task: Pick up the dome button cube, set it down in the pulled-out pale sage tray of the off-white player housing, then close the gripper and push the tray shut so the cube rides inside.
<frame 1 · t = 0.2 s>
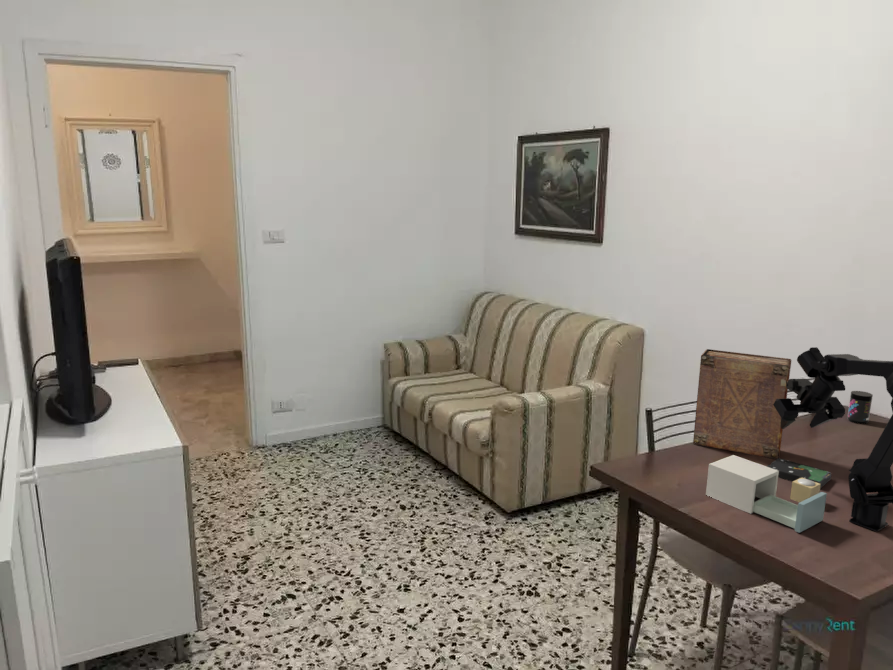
hand: (796, 427, 195), 14 cm above the table, tool tilted 30°, fingers open, 9 cm apart
tray: (786, 502, 171), point 4 cm above the table, slide at 11.0 cm
housing: (739, 498, 182), on the table
disk drive: (797, 478, 197), on the table
dome button cube: (804, 500, 182), on the table
book: (736, 447, 219), on the table
supplement container: (857, 421, 246), on the table
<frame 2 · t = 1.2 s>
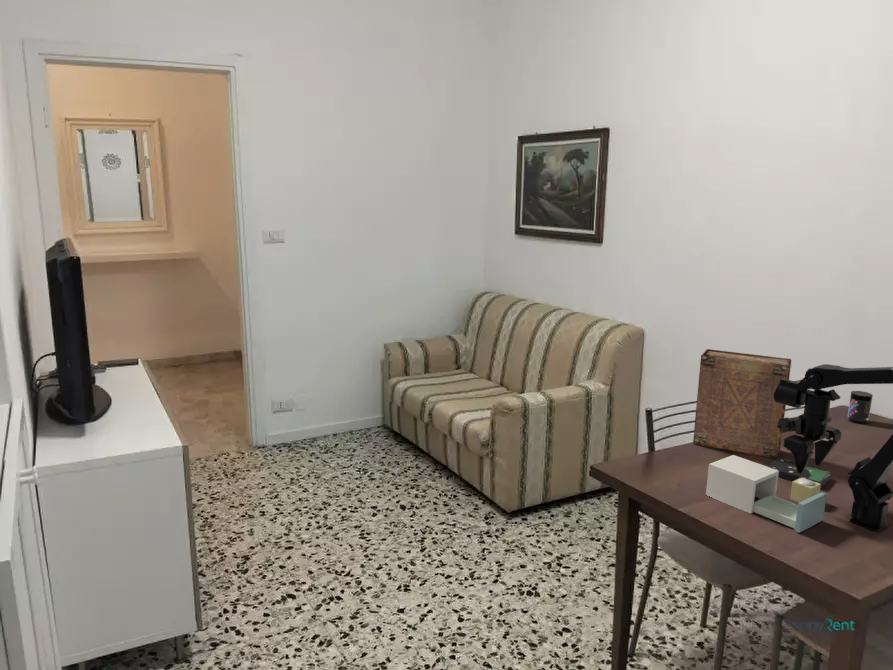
hand: (808, 469, 180), 9 cm above the table, tool pointing down, fingers open, 9 cm apart
nothing on the table moved.
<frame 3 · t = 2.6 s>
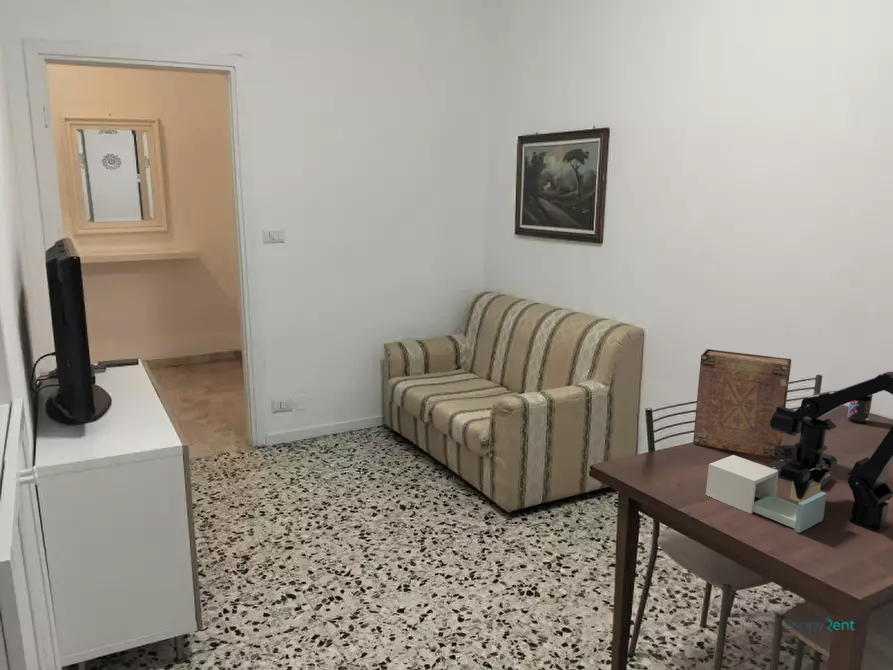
hand: (804, 496, 182), 1 cm above the table, tool pointing down, fingers closed on dome button cube, 5 cm apart
dome button cube: (804, 499, 182), on the table, touching gripper
everything else where it was.
when the fingers open (4 cm above the table, at t = 6.6 s): dome button cube drops 1 cm, resting on tray.
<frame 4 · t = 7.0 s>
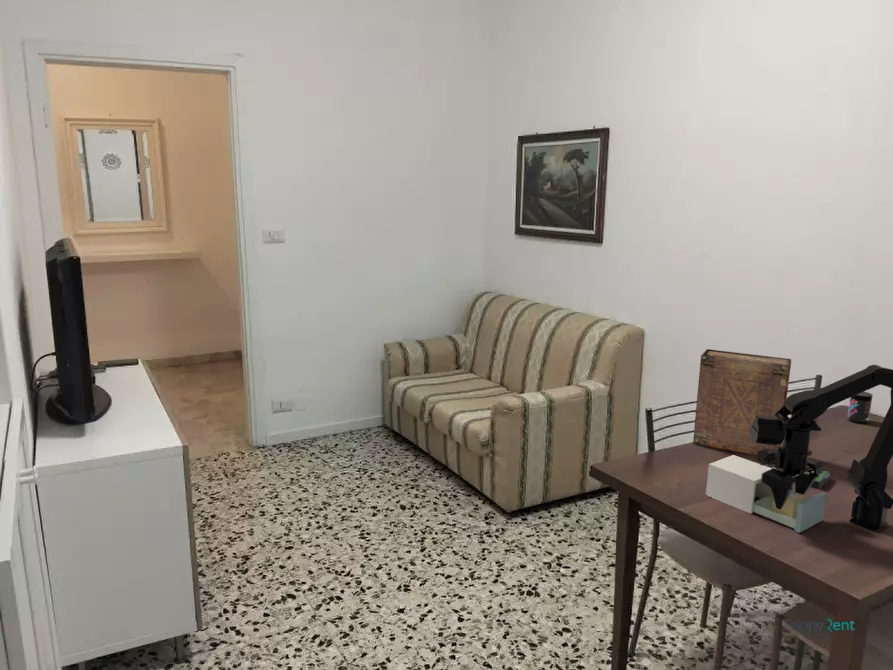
hand: (788, 504, 171), 4 cm above the table, tool pointing down, fingers open, 9 cm apart
tray: (786, 502, 171), point 4 cm above the table, slide at 11.0 cm, touching dome button cube
dome button cube: (786, 512, 171), point 1 cm above the table, touching tray
everything else where it was.
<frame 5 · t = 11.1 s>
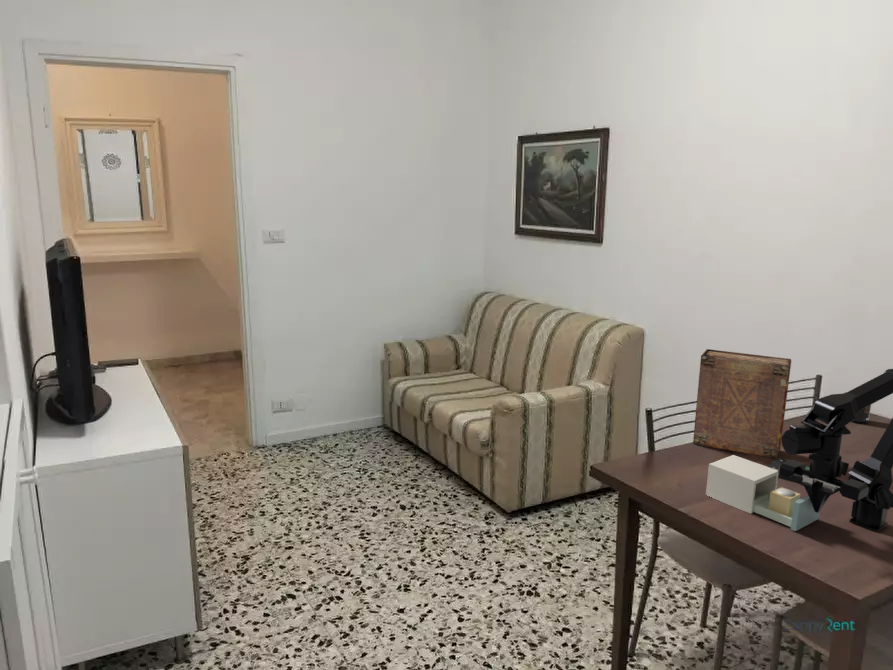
hand: (817, 511, 165), 5 cm above the table, tool pointing down, fingers closed
tray: (783, 501, 172), point 4 cm above the table, slide at 10.0 cm, touching dome button cube, gripper
everything else where it was.
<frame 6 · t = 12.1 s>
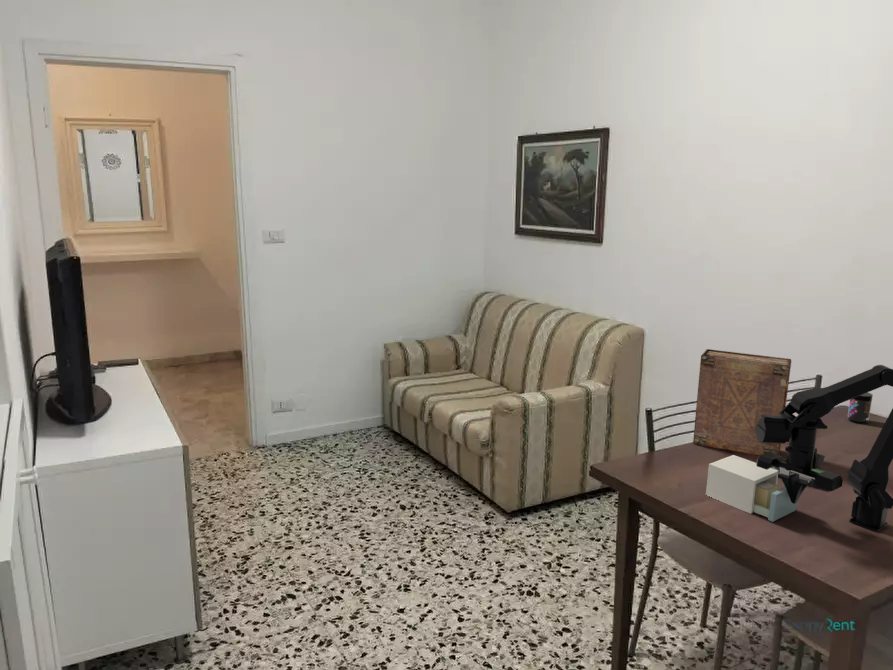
hand: (793, 502, 170), 5 cm above the table, tool pointing down, fingers closed
tray: (761, 493, 176), point 4 cm above the table, slide at 4.3 cm, touching dome button cube, gripper
dome button cube: (761, 502, 177), point 1 cm above the table, touching tray
everything else where it was.
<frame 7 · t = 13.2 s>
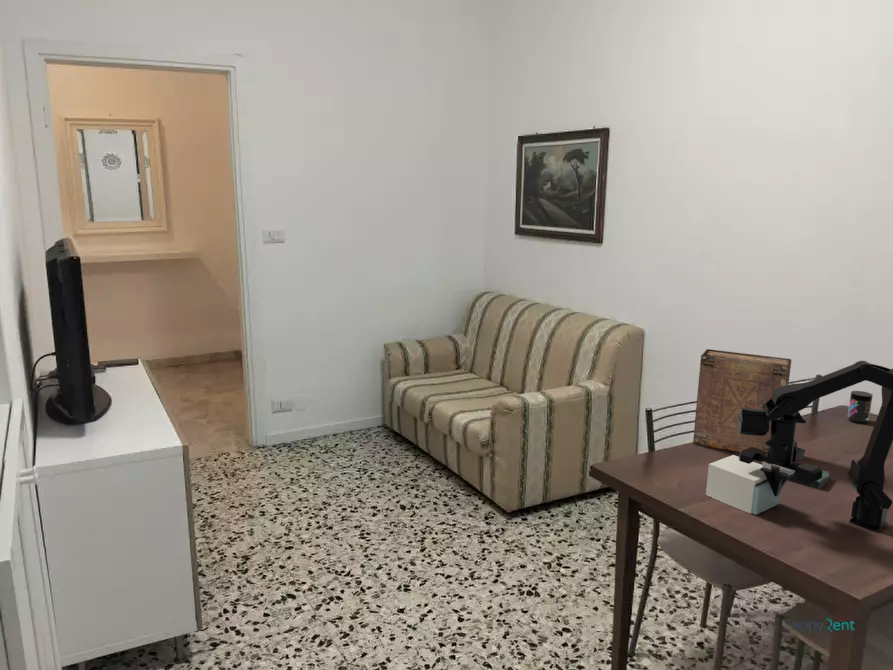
hand: (776, 496, 173), 5 cm above the table, tool pointing down, fingers closed
tray: (745, 486, 180), point 4 cm above the table, slide at -0.1 cm, touching dome button cube, gripper
dome button cube: (745, 496, 180), point 1 cm above the table, touching tray
everything else where it was.
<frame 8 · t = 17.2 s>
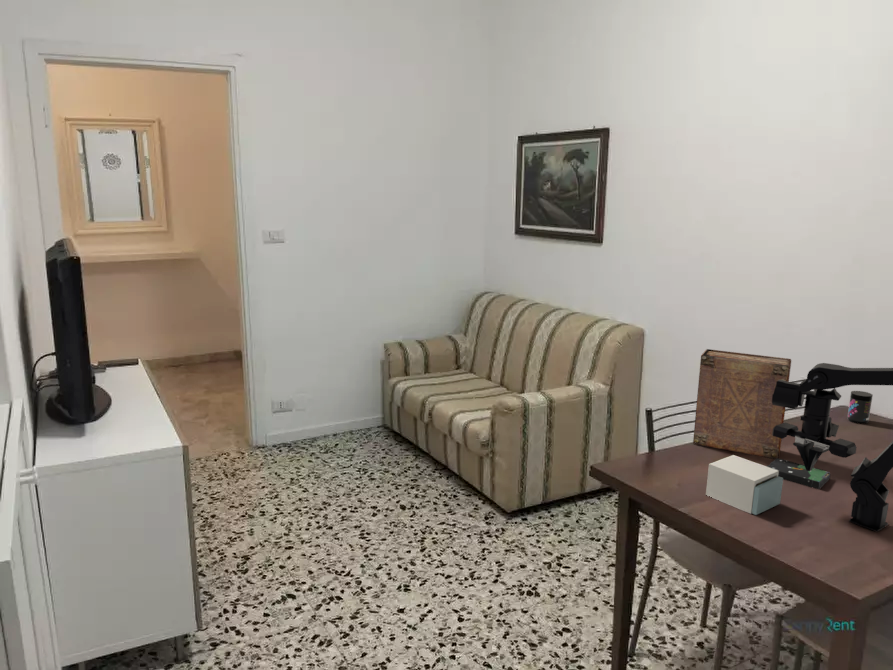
hand: (808, 470, 176), 10 cm above the table, tool pointing down, fingers closed
tray: (745, 487, 180), point 4 cm above the table, slide at 0.0 cm, touching dome button cube
everything else where it was.
at the end: tray slide at 0.0 cm; dome button cube 0.1 cm from the target spot on the housing, point 1.3 cm above the housing's base; dome button cube tilted 0° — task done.
